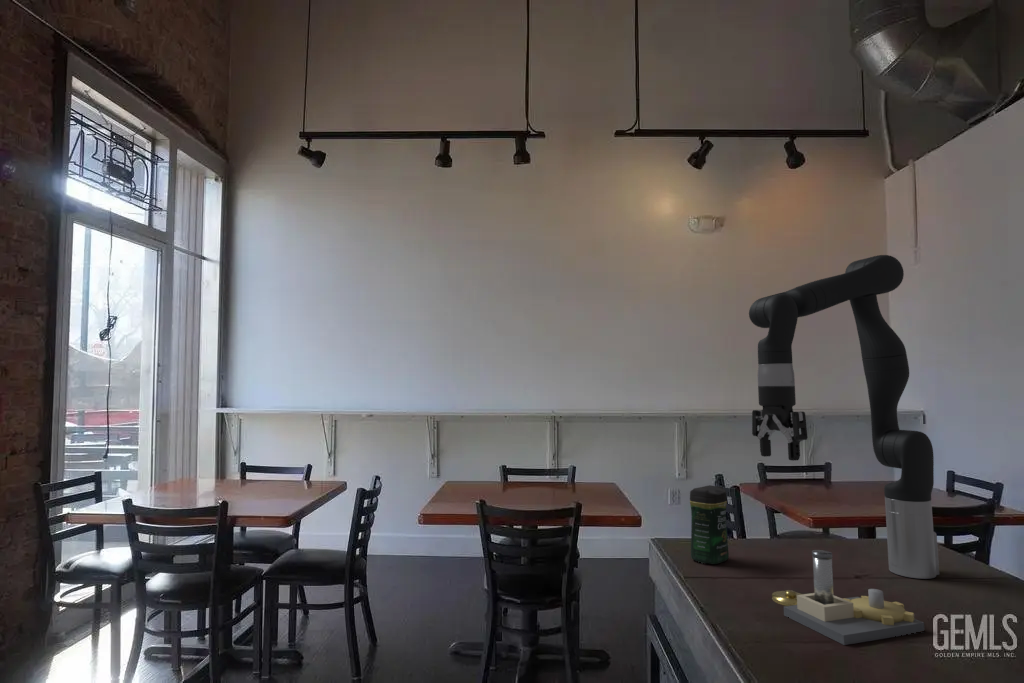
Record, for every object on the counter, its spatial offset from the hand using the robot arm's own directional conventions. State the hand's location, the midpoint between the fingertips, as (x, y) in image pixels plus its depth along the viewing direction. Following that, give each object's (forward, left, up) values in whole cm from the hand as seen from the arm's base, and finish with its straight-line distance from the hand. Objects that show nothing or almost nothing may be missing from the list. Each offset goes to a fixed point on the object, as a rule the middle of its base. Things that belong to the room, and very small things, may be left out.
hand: (779, 458), depth 130 cm
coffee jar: (+2, -24, -28) cm, 37 cm away
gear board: (+2, +19, -28) cm, 34 cm away
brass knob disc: (+4, +6, -28) cm, 29 cm away
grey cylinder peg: (+6, +17, -26) cm, 32 cm away
